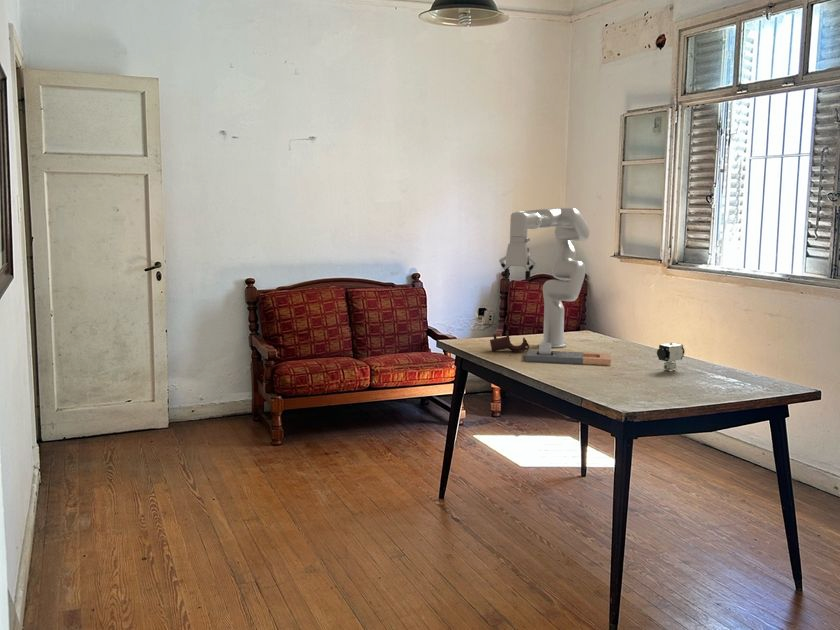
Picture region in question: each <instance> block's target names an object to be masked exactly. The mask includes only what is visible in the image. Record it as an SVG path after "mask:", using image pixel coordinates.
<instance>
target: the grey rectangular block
mask: <svg viewBox="0 0 840 630" xmlns="http://www.w3.org/2000/svg"><path fill="white" fill-rule="evenodd" d="M538 345H539V346H538V350H539V355H551V351H552V347H551V343H544V342H542V341H540V342H539V344H538Z"/></svg>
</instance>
